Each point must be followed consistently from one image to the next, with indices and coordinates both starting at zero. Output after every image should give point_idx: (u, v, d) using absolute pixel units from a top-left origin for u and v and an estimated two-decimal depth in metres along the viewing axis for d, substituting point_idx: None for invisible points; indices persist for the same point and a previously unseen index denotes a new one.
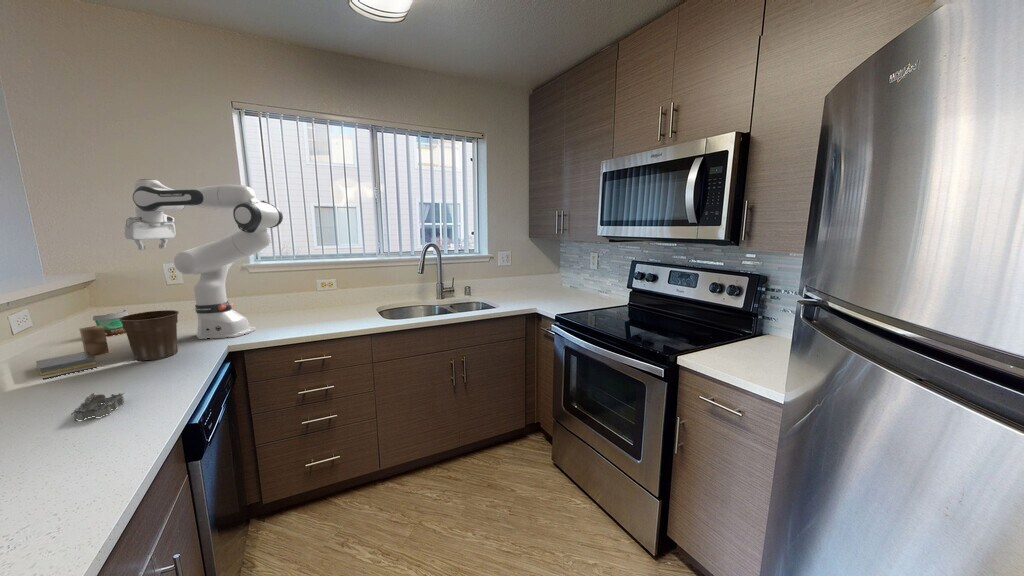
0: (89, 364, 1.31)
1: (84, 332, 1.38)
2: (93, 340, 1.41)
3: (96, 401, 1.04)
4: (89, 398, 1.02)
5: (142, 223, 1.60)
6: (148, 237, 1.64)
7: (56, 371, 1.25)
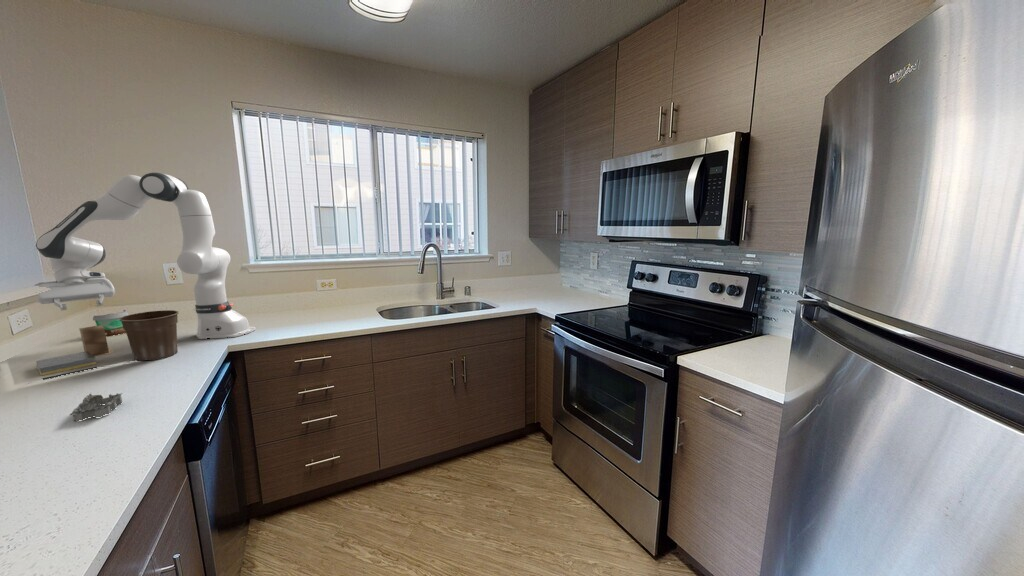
0: (89, 364, 1.31)
1: (84, 332, 1.38)
2: (93, 340, 1.41)
3: (93, 402, 1.04)
4: (87, 398, 1.02)
5: (53, 283, 1.46)
6: (66, 294, 1.46)
7: (56, 371, 1.25)
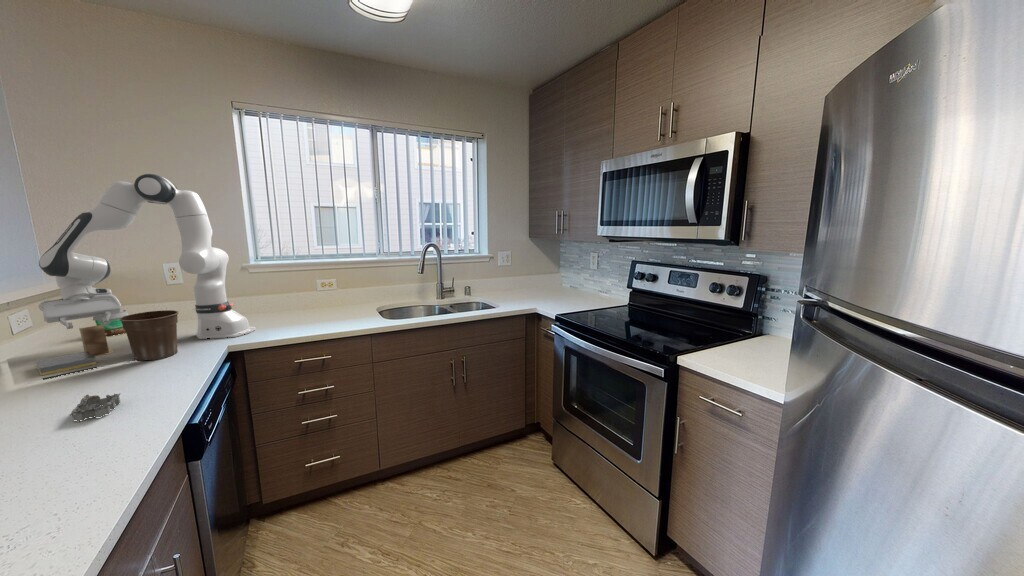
0: (89, 364, 1.31)
1: (84, 332, 1.38)
2: (93, 340, 1.41)
3: (91, 402, 1.03)
4: (85, 399, 1.01)
5: (59, 301, 1.43)
6: (72, 312, 1.43)
7: (56, 371, 1.25)
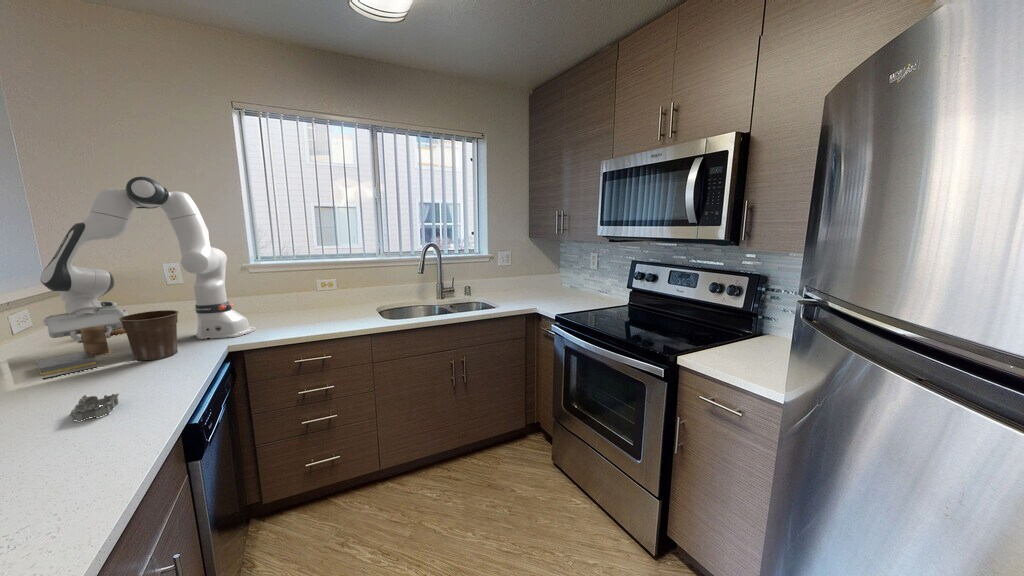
0: (89, 364, 1.31)
1: (84, 332, 1.38)
2: (93, 340, 1.41)
3: (88, 403, 1.03)
4: (83, 399, 1.01)
5: (64, 316, 1.40)
6: (77, 327, 1.40)
7: (56, 371, 1.25)
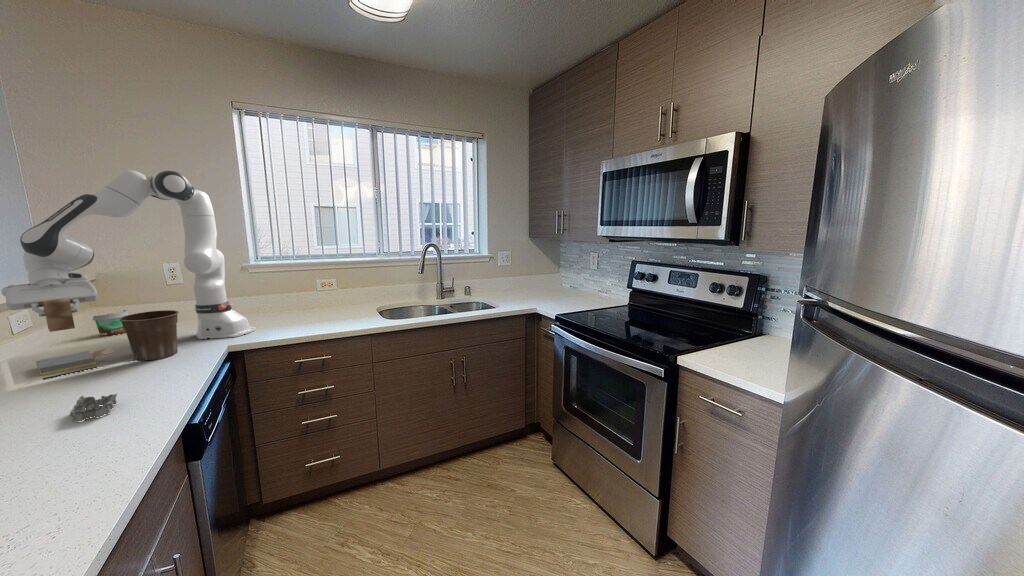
0: (89, 364, 1.31)
1: (46, 304, 1.25)
2: (57, 314, 1.27)
3: (86, 404, 1.03)
4: (80, 400, 1.01)
5: (25, 286, 1.27)
6: (39, 299, 1.27)
7: (56, 371, 1.25)
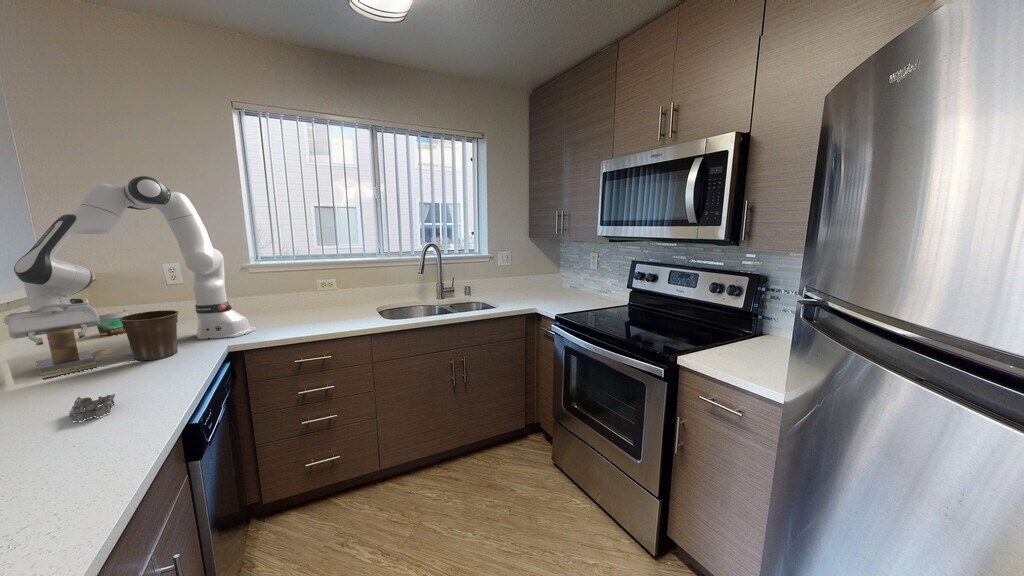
0: (89, 364, 1.31)
1: (50, 336, 1.25)
2: (61, 345, 1.27)
3: (83, 405, 1.02)
4: (78, 401, 1.00)
5: (27, 314, 1.27)
6: (42, 326, 1.27)
7: (56, 371, 1.25)
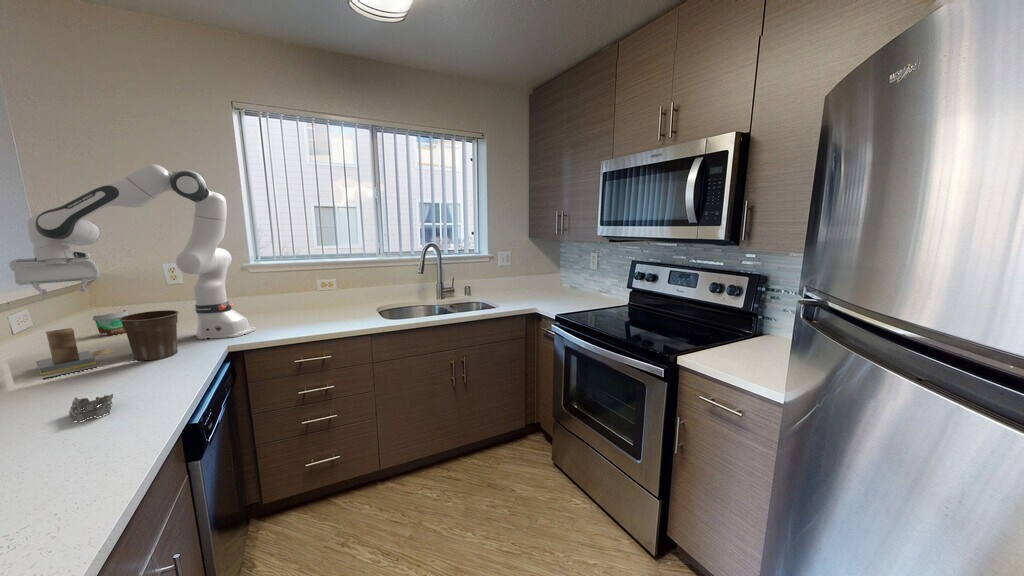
0: (89, 364, 1.31)
1: (50, 336, 1.25)
2: (61, 345, 1.27)
3: (80, 405, 1.02)
4: (76, 402, 1.00)
5: (33, 263, 1.35)
6: (47, 278, 1.36)
7: (56, 371, 1.25)
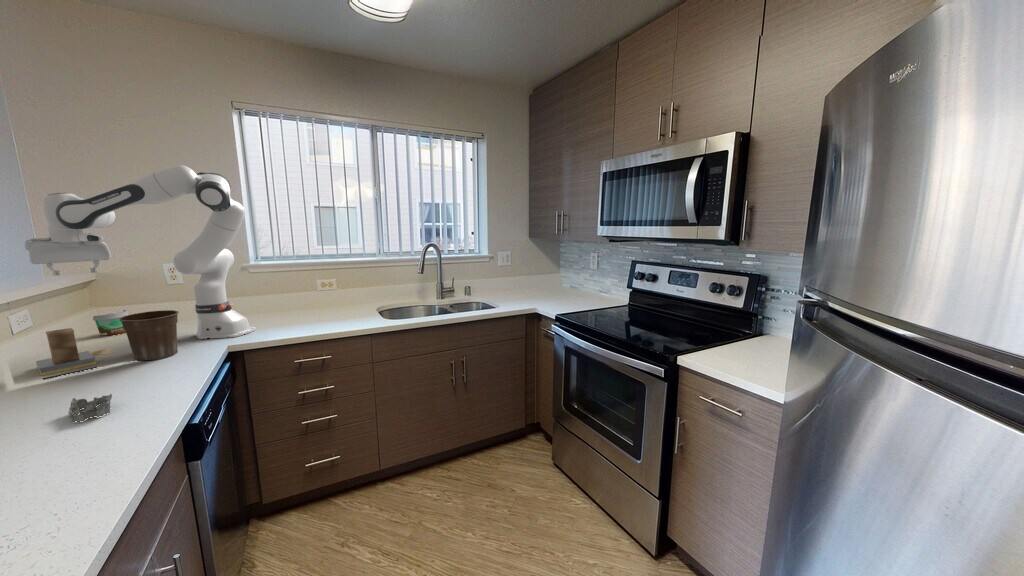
0: (89, 364, 1.31)
1: (50, 336, 1.25)
2: (61, 345, 1.27)
3: (78, 406, 1.01)
4: (74, 402, 1.00)
5: (47, 244, 1.37)
6: (60, 260, 1.40)
7: (56, 371, 1.25)
